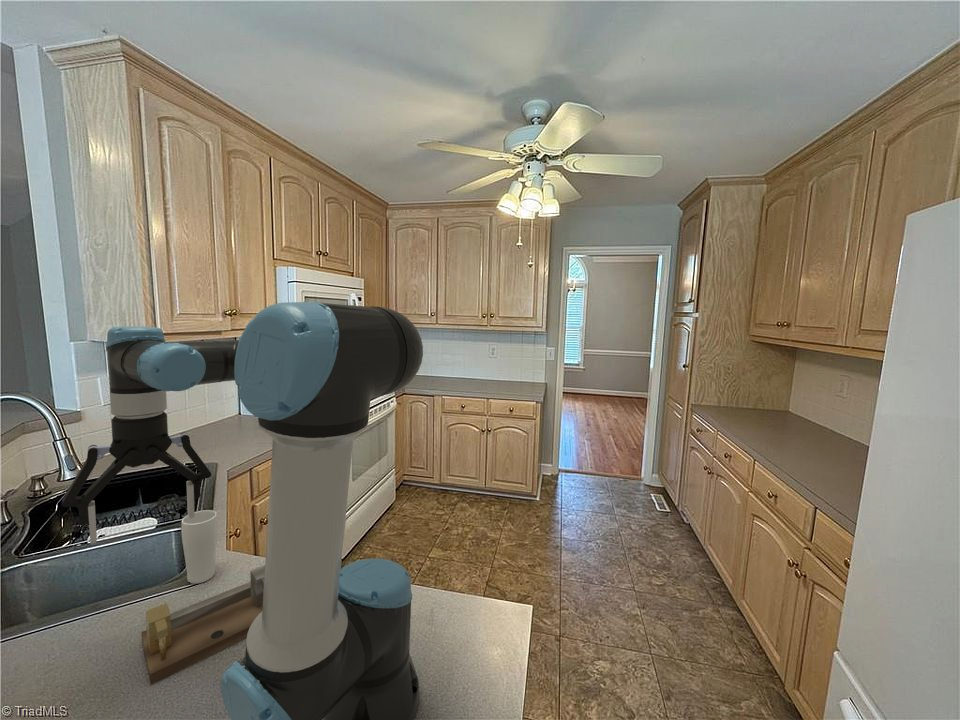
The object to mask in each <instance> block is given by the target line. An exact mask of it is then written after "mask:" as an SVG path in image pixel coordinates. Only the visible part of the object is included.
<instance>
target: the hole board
mask: <svg viewBox="0 0 960 720" xmlns="http://www.w3.org/2000/svg"><path fill="white" fill-rule="evenodd" d="M249 572H250V574H249V575H250V581H248V582H246V583H244V584H241V585H237V586H236V587H233V588H231V589H229V590H228V589H227V590H226V591H223V592H221V593H218V594H216V595H214V596H211V597H209V598H206V599H204V600H201V601H198V602H196V603H193V604H191V605H189V606H187V607H184V608H182V609H179V610H176V611H174V612H172V613H170V617H171V640H172V646H169V647H167V648H166V653H167V657H166V658H165V659H163V660H160V651H158V652H156V653H154V654H152V655H150V652H149V647H148V643H147V629H146V630H143V631H141V632H140V633H141V645H142V650H143V654H144V659H145V664H146V668H147V674H148V678H149V685H150V686H151V685H154V684H155V683H158V682H160V681H162V680H164V679H166V678H168V677H170V676H172V675H174V674H177V673H178V672H180V671H182V670H184V669H186V668H188V667H191V666H192V665H195V664H197V663H199V662H201V661H202V660H205V659H206V658H208V657H210V656H212V655H213V656H214V655H215V654H217V653H219V652H221V651H223V650H225V649H227V648H228V647H231V646H233V645H235V644H237V643H239V642H241V641H243V640H246V639H247V634H248V631H249V628H250V626H251V624H252V623H253V621H254V620H255V618H256V617H257V616H258V615H259V614H260V613H261V612H262V609H263V593H264V576H265V564H264V565H262V566H259V567H256V568H254V569H251V570H250V571H249Z"/></svg>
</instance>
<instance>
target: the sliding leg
mask: <svg viewBox="0 0 960 720" xmlns="http://www.w3.org/2000/svg"><path fill="white" fill-rule="evenodd" d="M170 614H171V613H170V609H169V606H168V603H167V602H166V603H163V604H160V605H157V606H155V607H152V608H150V609H148V610H145V623H146V624H145V625H146V630H147V643H148V647H149V652H150V655H152V654H154V653H156V652H158V651H160V660H163V659H165V658H166V657H167V653H166V648H167V647H169V646H172V640H171V617H170Z"/></svg>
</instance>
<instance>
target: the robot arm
mask: <svg viewBox="0 0 960 720" xmlns="http://www.w3.org/2000/svg"><path fill="white" fill-rule="evenodd" d="M106 335H107V336H106V346H105V350H106V351H107V363H108V364H107V367H108V381H109V403H110V414H111V415H112V416H113V417H112V418H111V439H112V441H111V443H110V445H104V446H103V445H99V446H98V445H96V444H91V445H89V446H88V448H87V455H86V456H87V457H86V459H85V461H84V463H83V465H82V466H81V468H80V469H79V471H78V472H77V474H76V476H75V478H74V479H73V481H72V482H71V485H70V486H69V487H68V489H67V491H66V493H65V494H64V496H63V498H62V502H61V507H62V508H70V507H71V508H74V507H75V508H77V510H78V524H79V525H80V526H85V525H88V527H89V541H90V542H89V543H90V545H93V544H96V543H97V540H98V537H97V536H98V535H97V534H98V533H97V522H96V520H97V519H96V518H97V517H96V503H95V500H94V499H95V498H96V497H97V496H98V495H99V494H100V493H101V492H102V491H103V490H104V488H106V486H107V485H108V484H110V482H111V481H112V480H113V479H114V478H115V477H116V475H118V474H119V473H120V472H122V470H124V468H125V467H129V468H137V467H140V466H143V465H148V466H149V465H154V464H155V463H156V462H158V461H160V462H162V463H164V465H167V466H168V467H170V468H171V469H173V470H174V471H176V472H177V473H179V474H180V475H182V477H184V478H186V479H187V481H185V482H186V483H185V484H186V505H187V510H186V511H187V515H189V518H193V517H195V514H194V512H195V500H196V499H200V497H201V496H202V494H201V483H202V481H203V480H205V479H209V478H210V477H212V473H211V472H212V471H210V469H209V468H208V467H207V465H206V464H205V463H204V461H203V460H202V458H201V457H200V455H199V454H198V453H197V452H196V450H195V449H194V448H193V446H192V445H191V440H190V436H189V434H188V433H187V432H184V431H183V432H181V433H180V434H179V435H175V436H169V429H168V414H167V413H166V412H165V411H166V410H167V409H168V402H167V400H168V399H167V392H183V391H187V390H189V389H191V388H193V387H195V386H198V385H208V384H217V383H223V382H224V383H225V382H232V381H235V382H234V383H235V385H236V386H238V387H239V389H238V396H239V399H240V401H241V403H242V405H243V406H244V407H245V410H246V411H248V412H249V413H250V414H251V415H253V416H254V417H256V418H258V419H257V423H258V427H259V428H260V429H261V430H262V431H263V432H264V433H265V434H267V435H268V436H269V437H270V438H271V439H272V446H271V447H272V449H271V466H270V480H269V496H268V498H269V499H268V510H267V511H268V512H267V513H268V514H267V530H266V531H267V532H266V545H265V560H264V561H265V564H264V565H265V576H264V593H263V609H262V612H261V613H260V614H259V615H258V616H257V617H256V618H255V620H254V621H253V623H252V624H251V626H250V628H249V631H248V634H247V638H245V640H246V641H245V653H244V657H242V658H241V659H240V660H238V661H234V662H233V663H231V666H230V667H228V669H225V671H224V673H223V674H222V678H221V681H220V692H221V697H222V701H223V704H224V707H225V709H226V710H225V711H226V713H227V715H228V717H229V719H230V720H414V718H415V716H416V714H417V711H418V707H419V702H420V701H419V700H420V698H419V697H420V685H419V684H420V682H419V677H418V674H417V672H416V668H415V665H414V663H413V659H412V656H411V654H410V649H411V648H410V647H411V646H410V644H411V641H410V640H411V618H412V615H411V614H412V600H413V593H412V585H411V584H412V580H411V577H410V574H409V572H408V570H407V569H406V568H405V567H404V566H403V565H401V564H400V563H398V562H395V561H393V560H389V559H385V558H373V557H372V558H363V559H359V560H356V561H352V562H350V563H348V564H346V565H345V566H343V567H342V560H343V559H342V558H343V550H344V549H343V548H344V537H345V527H346V517H347V506H348V505H347V504H348V495H349V486H350V477H351V466H352V465H351V464H352V457H353V448H354V447H353V444H354V438H355V437H357V436H358V435H360V434H361V433H362V432H363V431H365V430H366V429H367V427H368V425H369V418H370V407H371V401H372V399H375V398H379V397H384V396H387V395H391V394H394V393H395V392H398V391H400V390H403V388H404V387H406V386H407V385H409V384H410V383H411V382H412V380H413V379H414V378H415V377H416V376H417V374H418V373H419V370H420V368H421V365H422V363H423V356H424V346H423V341H422V338H421V335H420V333H419V331H418V329H417V327H416V326H415V325H414V323H413V322H412V321H411V320H410V319H409V318H408V317H406V316H405V315H404V314H402V313H400V312H399V311H397V310H394V309H391V308H387V307H384V306H367V305H366V306H365V305H364V306H363V305H362V306H361V305H352V304H339V303H326V302H325V303H324V302H318V301H309V300H307V301H306V300H305V301H297V302H295V301H294V302H293V301H292V302H290V301H288V302H278V303H273V304H270V305H267V306H266V307H264V308H263V309H261V310H260V311H258V312H257V314H256V315H255V316H254V318H252V319H251V320H249V322H248V323H247V325H246V326H245V328H244V329H243V332H242V333H241V336H240V338H239V339H235V340H232V339H231V340H204V341H203V340H200V341H198V340H197V341H195V340H194V341H193V340H191V341H166V339H165V335H164V331H163V330H162V329H161V328H160V327H157V326H156V327H155V326H113V327H111V328H109V329H108V331H107V333H106ZM172 444H175V445H176V446H177V447H179V448H183V450H184V452H185V453H186V455H187V456H188V457H189V458H190V460H191V461H192V462H193V464H194V466H196V468H197V469H198V471H199V472H197V473H196V472H195V471H194V470H192V469H191V468H190V467H188V466H187V465H185V464H184V463H182V461H180V460H179V459H177V458H175V456H172V455H171V453H169V452H167V451H168V449H169V448H170V447H171V445H172ZM106 454H110V455H111V456H112V457H114V458H115V459H114V460H113V461H112V462H111V464H110V465H109V466H108V467H107V468H106V469H105V471H103V473H102V474H101V475H100V476H99V477H98V478H97V479H96V480H95V481H94V482H93V483H92V484H91V485H90V486H89V487H88V488H87V489H86V490H85V491H84V492H83V493H82V495H79V494H80V492H81V490H82V488H83V487H84V485H85V483H86V482H87V480H88V479H89V477H90V475H91V474H92V472H93V470H94V468H95V466H96V464H97V461H99V460H100V461H101V460H102V459H103V458H104V457H105V455H106ZM78 495H79V496H78Z"/></svg>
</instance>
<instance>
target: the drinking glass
mask: <svg viewBox="0 0 960 720" xmlns="http://www.w3.org/2000/svg"><path fill="white" fill-rule="evenodd" d="M194 514H195V517H193V518H189V515H188V514H187V515H185V516H184V517H183V518H182V519H181V532H180V533H181V542H182V548H183V554H184V560H185V561H184V562H185V568H186V569H185V570H186V580H187V582H188V583H189V582H190V583H189V584H193V585H194V584H195V585H197V584H202V583H204V582H207V581H209V580H210V579H211V578H213V577H214V576H215V573H216V556H217V555H216V554H217V541H218V515H217V514H218V513H217V511H215V510H212V509H205V510H204V509H203V510H198V511H194Z"/></svg>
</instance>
